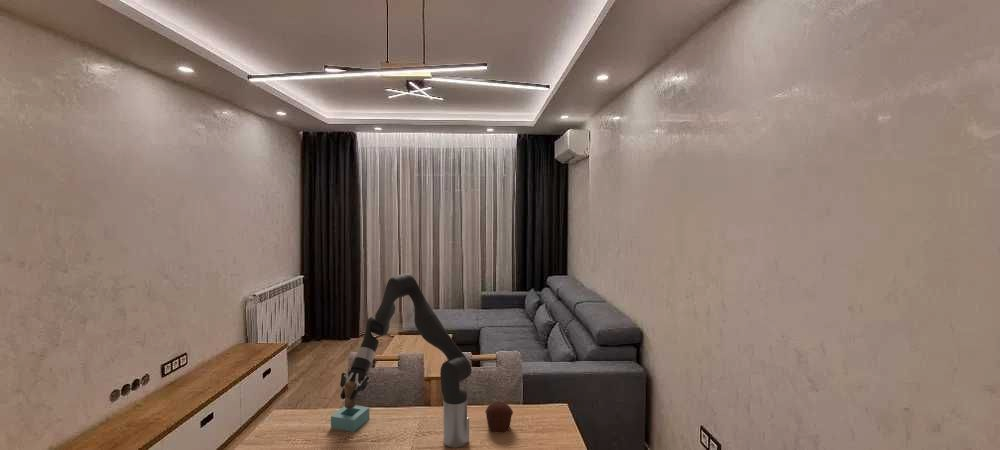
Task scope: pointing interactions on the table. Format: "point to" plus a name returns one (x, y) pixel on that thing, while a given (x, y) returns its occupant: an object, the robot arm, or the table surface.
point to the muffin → (498, 416)
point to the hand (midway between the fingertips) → (347, 399)
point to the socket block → (350, 418)
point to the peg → (349, 394)
